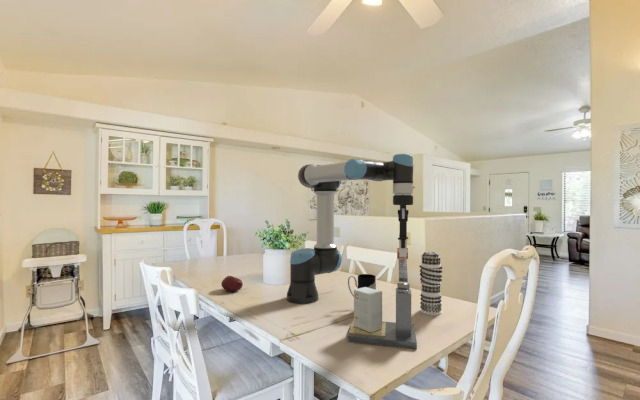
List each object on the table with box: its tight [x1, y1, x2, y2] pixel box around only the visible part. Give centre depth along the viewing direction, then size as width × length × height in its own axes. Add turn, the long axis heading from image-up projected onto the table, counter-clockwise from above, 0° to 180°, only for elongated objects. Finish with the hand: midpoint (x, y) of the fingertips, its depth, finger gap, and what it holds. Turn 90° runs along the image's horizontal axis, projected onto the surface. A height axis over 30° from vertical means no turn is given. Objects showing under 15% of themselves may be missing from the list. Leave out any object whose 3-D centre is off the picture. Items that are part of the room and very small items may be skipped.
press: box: [347, 287, 418, 350], centre depth 112 cm, size 22×16×16 cm
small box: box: [353, 287, 383, 333], centre depth 114 cm, size 8×6×13 cm
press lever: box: [396, 247, 411, 290], centre depth 119 cm, size 4×22×3 cm, turn 167°
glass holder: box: [347, 273, 377, 298], centre depth 139 cm, size 9×14×15 cm, turn 47°
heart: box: [221, 275, 244, 293], centre depth 168 cm, size 12×8×10 cm
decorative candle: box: [418, 251, 443, 316], centre depth 137 cm, size 9×9×25 cm
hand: (402, 256), depth 123 cm, fingers closed
